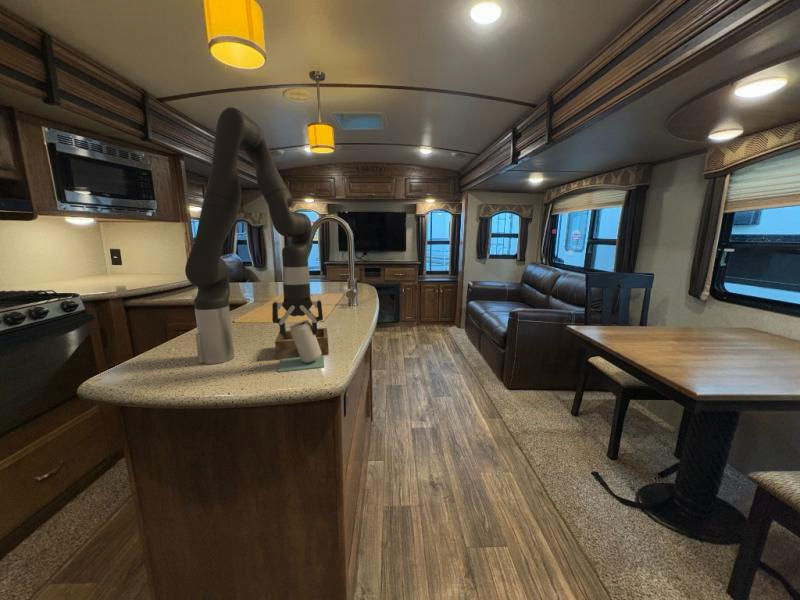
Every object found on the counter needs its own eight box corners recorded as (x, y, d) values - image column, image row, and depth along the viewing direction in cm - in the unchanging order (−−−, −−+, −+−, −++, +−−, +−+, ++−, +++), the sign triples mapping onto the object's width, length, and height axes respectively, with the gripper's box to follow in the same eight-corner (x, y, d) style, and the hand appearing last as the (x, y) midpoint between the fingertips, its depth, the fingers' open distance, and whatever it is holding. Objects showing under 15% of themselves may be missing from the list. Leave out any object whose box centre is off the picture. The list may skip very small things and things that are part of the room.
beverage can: (318, 361, 92) (304, 325, 89) (299, 365, 93) (284, 329, 90) (325, 351, 98) (312, 317, 95) (306, 355, 99) (294, 322, 96)
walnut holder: (276, 359, 98) (275, 341, 97) (280, 347, 110) (279, 331, 109) (328, 354, 103) (327, 337, 102) (327, 343, 114) (326, 327, 113)
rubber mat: (278, 372, 89) (277, 371, 89) (281, 359, 98) (281, 358, 98) (324, 367, 92) (324, 366, 92) (323, 356, 101) (323, 354, 101)
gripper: (268, 284, 85) (272, 340, 88) (321, 282, 88) (323, 337, 91) (272, 281, 92) (275, 333, 95) (321, 280, 95) (323, 330, 98)
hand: (299, 335), depth 93 cm, fingers open, 8 cm apart
